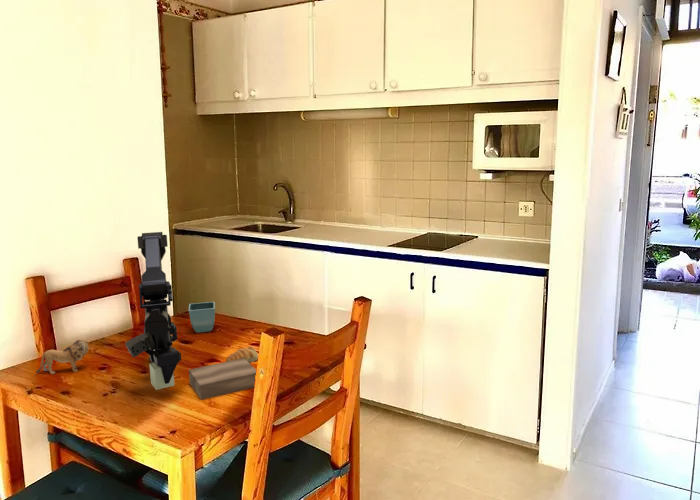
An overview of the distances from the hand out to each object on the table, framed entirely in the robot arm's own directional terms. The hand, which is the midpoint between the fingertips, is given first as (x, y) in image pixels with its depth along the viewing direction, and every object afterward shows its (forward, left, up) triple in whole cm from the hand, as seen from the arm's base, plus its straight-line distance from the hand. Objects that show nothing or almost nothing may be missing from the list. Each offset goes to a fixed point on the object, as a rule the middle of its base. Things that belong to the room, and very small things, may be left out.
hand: (162, 377), depth 162 cm
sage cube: (0, 0, -2) cm, 2 cm away
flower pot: (-38, +25, -2) cm, 45 cm away
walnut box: (+10, +14, -2) cm, 17 cm away
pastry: (-3, +25, -2) cm, 26 cm away
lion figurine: (-27, -21, -2) cm, 34 cm away
